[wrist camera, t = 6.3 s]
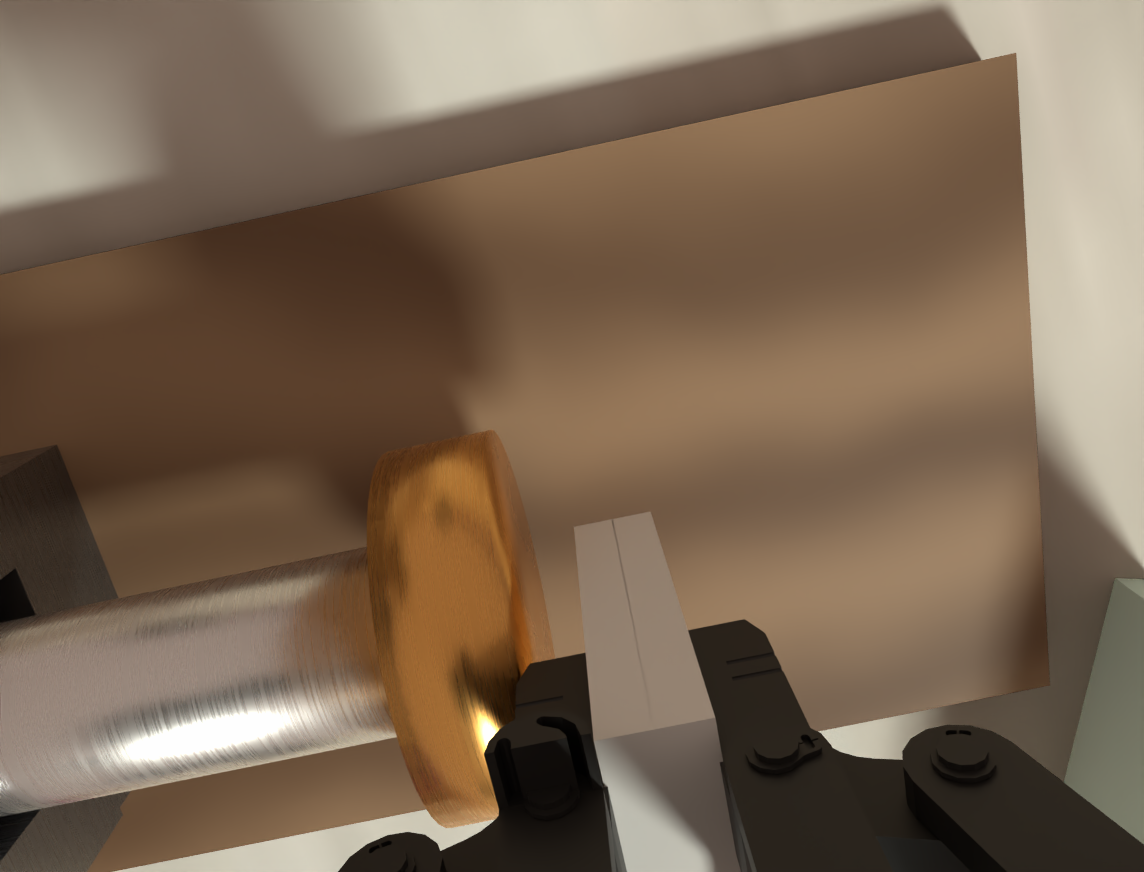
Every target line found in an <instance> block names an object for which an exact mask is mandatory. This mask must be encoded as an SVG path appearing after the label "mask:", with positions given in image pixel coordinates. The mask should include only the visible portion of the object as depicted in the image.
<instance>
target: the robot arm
mask: <svg viewBox="0 0 1144 872" xmlns="http://www.w3.org/2000/svg"><path fill="white" fill-rule="evenodd" d="M574 533H575V544H576V555H577V566H578V577H579V588H580V598H581V609H582V620H583V631H584V642H585V653H581V654H576V655H571V656H566V657H561V658H556V659H550V660H545V661H540V662H535V663H530V664H529V665H528V667H527V669H526V670H525V672H524V673H523V675H522V676H521V678H520V679H519V681H518V682H517V684H516V702H515V705H516V709H515V720H513V721H511V722H510V723H508V724H506V725H505V726H503V727H501V728H500V729H499V730H498V731H497V732H496V733H495V735H494V736H493V737H492V738H491V739H490V740H489V742H488V744H487V747H486V750H485V752H484V756H485V760H486V764H487V767H488V771H489V775H490V778H491V782H492V786H493V789H494V793H495V797H496V800H497V804H498V808H499V816H498V817H497V818H496V819H495V820H494V821H493V822H492V823H491V824H490V825H488V826H487V827H486V828H485V829H483V830H482V831H481V832H479V833H477V834H475V835H474V836H472V837H470V838H468V839H466V840H464V841H462V842H460V843H457V844H455V845H453V846H451V847H448V848H446V849H444V850H442V851H440V849H439V847H438V844H437V843H436V842H435V841H433V840H432V839H430V838H429V837H427V836H426V835H423V834H417V833H411V832H405V833H399V834H392V835H387V836H385V837H383V838H380V839H378V840H376V841H373V842H371V843H369V844H367V845H365V846H364V847H363V848H361V849H360V850H359V851H357V852H356V853H355V854H353V855H352V856H351V857H349V859H348V860H347V861H346V862H345V864H344V865H343V866H342V868H341V869H340V870H339V871H338V872H1144V844H1143V843H1141V842H1140V841H1139V840H1138V839H1136V838H1135V837H1134V836H1132V835H1131V834H1130V833H1128V832H1127V831H1126V830H1125V829H1123V828H1122V827H1121V826H1119V825H1118V824H1117V823H1116V822H1114V821H1113V820H1112V819H1110V818H1109V817H1108V816H1106V815H1105V814H1104V813H1103V812H1101V811H1100V810H1099V809H1097V808H1096V807H1095V806H1094V805H1092V804H1091V803H1090V802H1088V801H1087V800H1086V799H1085V798H1083V797H1082V796H1081V795H1079V794H1078V793H1077V792H1075V791H1074V790H1073V789H1072V788H1070V787H1069V786H1068V785H1066V784H1065V783H1064V782H1063V781H1061V780H1060V779H1059V778H1057V777H1056V776H1055V775H1054V774H1052V773H1051V772H1050V771H1048V770H1047V769H1046V768H1044V767H1043V766H1042V765H1041V764H1039V763H1038V762H1037V761H1035V760H1034V759H1033V758H1032V757H1030V756H1029V755H1028V754H1026V753H1025V752H1024V751H1022V750H1021V749H1020V748H1019V747H1017V746H1016V745H1015V744H1013V743H1012V742H1011V741H1009V740H1007V739H1005V738H1003V737H1002V736H1000V735H998V734H996V733H994V732H993V731H989V730H985V729H981V728H977V727H973V726H965V725H945V726H940V727H936V728H931V729H927V730H925V731H923V732H921V733H920V734H918V735H916V736H915V737H913V738H911V739H910V741H909V742H908V744H907V745H906V747H905V748H904V750H903V760H892V759H872V758H863V757H856V756H852V755H849V754H845V753H842V752H839V751H837V750H835V749H833V748H832V746H831V745H830V743H829V742H828V741H827V740H826V739H825V738H824V736H823V735H822V734H821V733H819V732H818V731H816V730H814V729H812V728H810V726H809V724H808V722H807V720H806V718H805V715H804V713H803V711H802V709H801V707H800V705H799V703H798V701H797V699H796V697H795V694H794V692H793V690H792V688H791V686H790V684H789V682H788V680H787V678H786V676H785V673H784V671H782V667H781V665H780V663H779V661H778V659H777V657H776V656H775V653H774V650H773V648H772V646H771V644H770V642H769V640H768V638H767V636H766V634H765V633H764V632H763V631H761V630H760V629H759V628H757V627H756V626H754V625H753V624H751V623H750V622H748V621H747V620H745V619H743V620H737V621H732V622H727V623H722V624H717V625H712V626H707V627H702V628H697V629H692V630H688V629H687V626H686V623H685V620H684V616H683V613H682V610H681V607H680V604H679V601H678V597H677V594H676V591H675V588H674V585H673V581H672V578H671V575H670V572H669V569H668V566H667V562H666V559H665V556H664V553H663V550H662V547H661V543H660V540H659V537H658V534H657V531H656V527H655V524H654V521H653V518H652V515H651V512H646V513H641V514H636V515H631V516H626V517H621V518H616V519H611V520H606V521H601V522H596V523H591V524H586V525H581V526H576V527H574Z"/></svg>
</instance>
